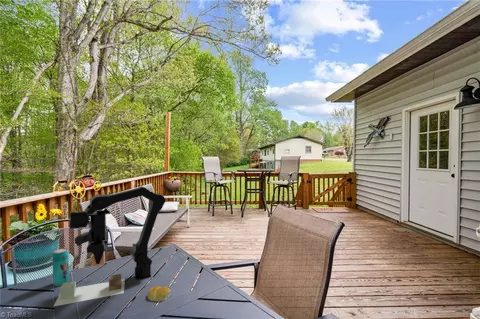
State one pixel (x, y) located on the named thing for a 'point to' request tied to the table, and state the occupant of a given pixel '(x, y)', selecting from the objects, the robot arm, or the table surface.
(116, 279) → the walnut block
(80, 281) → the table surface
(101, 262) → the terracotta block
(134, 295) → the table surface
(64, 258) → the beverage can
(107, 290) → the white mat
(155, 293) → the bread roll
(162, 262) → the table surface
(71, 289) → the sage block
